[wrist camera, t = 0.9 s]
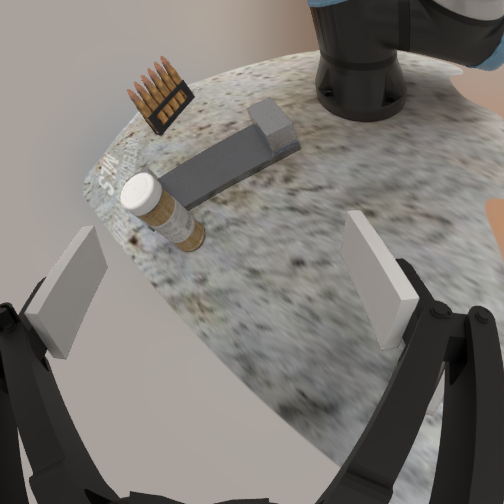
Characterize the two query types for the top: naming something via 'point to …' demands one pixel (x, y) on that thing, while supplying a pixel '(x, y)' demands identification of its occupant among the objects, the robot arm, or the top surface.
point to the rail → (232, 157)
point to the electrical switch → (437, 392)
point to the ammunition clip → (162, 97)
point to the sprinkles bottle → (161, 211)
